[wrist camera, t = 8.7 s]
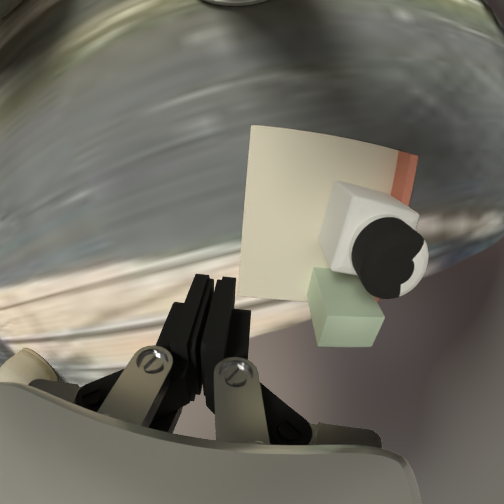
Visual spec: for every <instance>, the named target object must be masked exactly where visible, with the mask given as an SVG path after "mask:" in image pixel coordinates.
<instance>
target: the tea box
mask: <svg viewBox="0 0 504 504" xmlns="http://www.w3.org/2000/svg"><path fill="white" fill-rule="evenodd" d="M307 298H308V303H309V307H310V312H311V317H312V321H313V327H314V331H315V337H316V342H317V346H318V347H371V346H372V345H373V343H374V341H375V338H376V336H377V334H378V332H379V330H380V327H381V325H382V323H383V321H384V319H385V316H384V314H383V312H382V311H381V309H380V307H379V305H378V303H377V301H376V299H375V297H374V296H372V295H371V294H370V293H368V292H367V291H366V289H365V288H364V286H363V284H362V283H361V281H360V279H359V277H358V275H352V274H346V273H340V272H334V271H332V270H331V269H330V268H320V267H313V270H312V274H311V279H310V283H309V288H308V292H307Z"/></svg>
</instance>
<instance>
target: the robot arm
mask: <svg viewBox="0 0 504 504" xmlns="http://www.w3.org/2000/svg"><path fill="white" fill-rule="evenodd" d="M203 1H206V2H210V3H213V4H218V5H224V6H243V5H251V4H257V3H261V2H264V1H267V0H203ZM235 287H236V278H232V277H223V278H222V280H217V283H216V287H215V290H214V279H210V277H209V275H203V274H196V275H195V277H194V280H193V282H192V285H191V287H190V290H189V292H188V295H187V298H186V300H185V303H179V302H174V303H173V305H172V307H171V310H170V312H169V315H168V317H167V319H166V322H165V324H164V326H163V329H162V331H161V334H160V336H159V339H158V341H157V344H156V346H147V347H143V348H141V349H140V350H138V351H137V352H136V353H135V354H134V356H133V357H132V359H131V360H130V362H129V363H128V365H127V366H126V368H125V369H123V370H120V371H118V372H115V373H113V374H111V375H108V376H106V377H103V378H101V379H98V380H96V381H93V382H91V383H88V384H86V385H84V386H83V387H79V386H78V384H71V383H64V382H57V381H51V380H45V379H35V380H33V381H31V382H30V383H29V384H28V385H26V384H21V383H16V382H0V504H422V501H421V497H420V492H419V489H418V484H417V481H416V478H415V476H414V473H413V471H412V468H411V467H410V465H409V463H408V462H407V461H406V460H405V459H404V458H403V457H402V456H401V455H399V454H397V453H395V452H392V451H389V450H386V449H382V442H381V438H380V436H379V435H378V434H377V433H376V432H375V431H373V430H370V429H364V428H355V427H347V426H339V425H332V424H325V423H318V425H317V424H311V423H308V422H307V420H305V419H304V418H303V417H302V416H300V415H299V414H298V413H297V412H295V411H294V410H293V409H292V408H290V407H289V406H288V405H286V404H285V403H284V402H283V401H282V400H281V399H279V398H278V397H277V396H276V395H274V394H273V393H272V392H271V391H270V390H269V389H267V388H266V387H265V386H264V385H262V383H260V381H259V374H258V371H257V368H256V367H255V366H254V364H253V363H252V362H250V361H249V360H248V348H249V333H250V319H251V310H240V309H234V303H235ZM202 384H203V389H204V390H203V391H204V395H205V397H206V405H207V407H208V408H209V409H210V410H211V411H212V412H213V413H214V414H215V428H216V440H208V439H201V438H194V437H189V436H183V435H178V434H173V431H174V428H175V426H176V424H177V422H178V419H179V417H180V415H181V412H182V408H183V406H185V405H186V404H188V403H190V401H194V399H195V395H196V394H198V395H200V393H201V389H202Z"/></svg>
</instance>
